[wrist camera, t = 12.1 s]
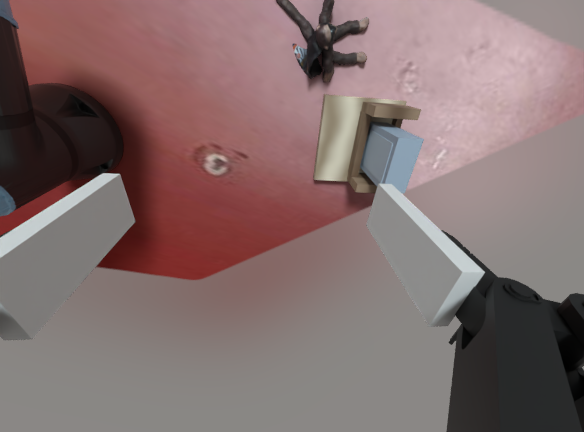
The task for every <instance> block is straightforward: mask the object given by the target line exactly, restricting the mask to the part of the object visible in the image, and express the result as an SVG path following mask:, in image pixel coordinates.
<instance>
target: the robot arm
mask: <svg viewBox="0 0 584 432" xmlns="http://www.w3.org/2000/svg"><path fill="white" fill-rule="evenodd" d="M17 29H19V28H18V23H17V22H16V21H15V20H14V18H13V15H12V11H11V7H10V4H9V0H0V216H4V215H8V214H10V213H11V212H13V211H14V210H16V209H18V208H20V207H21V206H23V205H25V204H27V203H29V202H30V201H32V200H34V199H36V198H38V197H39V196H41V195H43V194H45V193H47V192H48V191H50V190H52V189H54V188H56V187H57V186H59V185H61V184H63V183H65V182H66V181H70V180H79V179H88V178H95V177H96V178H95V179H93V180H91V181H90V182H88V183H87V184H85V185H83V186H82V187H80V188H79V189H77V190H75V191H74V192H72V193H71V194H69V195H67V196H66V197H64V198H63V199H61V200H59V201H58V202H56V203H55V204H53V205H52V206H50V207H48V208H47V209H45V210H44V211H42V212H40V213H39V214H37V215H36V216H34V217H32V218H31V219H29V220H28V221H26V222H24V223H23V224H21V225H20V226H18V227H16V228H15V229H13V230H11V231H9V232H6V233H4V234H3V235H1V236H0V337H1V338H2V339H3V340H25V339H33V338H34V337H35V335H36V334H37V333H38V332H39V331H40V330H41V328H42V327H43V326H44V325H45V324H46V323H47V322H48V320H49V319H50V318H51V317H52V316H53V315H54V314H55V312H56V311H57V310H58V309H59V308H60V307H61V306H62V305H63V303H64V302H65V301H66V300H67V299H68V298H69V297H70V295H71V294H72V293H73V292H74V291H75V290H76V289H77V288H78V286H79V285H80V284H81V283H82V282H83V281H84V279H85V278H86V277H87V276H88V275H89V274H90V273H91V272H92V270H93V269H94V268H95V267H96V266H97V265H98V264H99V262H100V261H101V260H102V259H103V258H104V257H105V256H106V254H107V253H108V252H109V251H110V250H111V249H112V248H113V247H114V245H115V244H116V243H117V242H118V241H119V240H120V239H121V237H122V236H123V235H124V234H125V233H126V232H127V231H128V229H129V228H130V227H131V226H132V225H133V224H134V223H135V218H134V215H133V212H132V209H131V206H130V203H129V200H128V197H127V194H126V191H125V188H124V185H123V182H122V178H121V175H120V174H110V173H107V172H109V171H110V170H112V169H113V168H115V167H116V166H117V165H118V163H119V162H120V160H121V158H122V154H123V140H122V136H121V133H120V130H119V128H118V126H117V124H116V122H115V121H114V119H113V118H112V117H111V115H110V114H109V113H108V112H107V110H106V109H105V108H104V107H103V106H102V105H101V104H100V103H98V102H97V101H96V100H95V99H93V98H92V97H91V96H89V95H88V94H86V93H84V92H82V91H80V90H78V89H76V88H74V87H71V86H68V85H64V84H57V83H46V84H34V85H30V86H28V81H27V76H26V71H25V67H24V62H23V57H22V53H21V48H20V43H19V38H18V34H17ZM366 226H367V228H368V229H369V231H370V232H371V234H372V235H373V237H374V239H375V240H376V242H377V244H378V245H379V247H380V249H381V250H382V252H383V253H384V255H385V257H386V258H387V260H388V262H389V263H390V265H391V266H392V268H393V270H394V271H395V273H396V274H397V276H398V278H399V279H400V281H401V283H402V284H403V286H404V288H405V289H406V291H407V292H408V294H409V296H410V297H411V299H412V300H413V302H414V304H415V305H416V307H417V308H418V310H419V312H420V313H421V315H422V317H423V318H424V320H425V322H426V323H427V325H428V326H429V327H432V326H448V325H449V324H450V322H451V321H452V319H453V318H454V316H455V315H456V317H457V318H458V319H459V321H460V322H461V323H462V324H461V325H460V327H459V328H458V329H457V331H456V332H455V334H454V335H453V336H452V338H451V339H450V341H449V343H450V344H451V345H452V344H453V343H454V341H456V349H455V359H454V368H453V377H452V387H451V396H450V405H449V414H448V424H447V432H584V370H583V369H582V367H583V366H584V295H583V294H577V293H575V294H570V295H569V296H568V297H567V298H566V299H565V300H564V301H563V302H562V303H558V302H553V301H549V300H545V299H543V298H542V297H541V296H540V295H538V294H537V293H536V292H535V291H534V290H532V289H531V288H529V287H528V286H526V285H524V284H522V283H520V282H518V281H515V280H511V279H508V278H498V277H497V276H496V275H495V274H494V273H493V272H492V271H490V270H489V269H488V268H487V267H486V266H485V265H484V264H483V263H482V262H481V261H479V260H478V259H477V258H476V257H475V256H474V255H473V254H470V251H469V250H467V249H466V248H465V247H463V245H462V244H461V243H460V242H459V241H458V240H457V239H455V238H454V237H453V236H451V235H449V234H448V233H446V232H444V231H443V230H440V229H439V228H438V227H437V226H436V225H434V224H433V223H432V222H431V221H430V220H429V219H428V218H427V217H426V216H425V215H424V214H423V213H422V212H421V211H420V210H419V209H417V208H416V207H415V206H414V205H413V204H412V203H411V202H410V201H409V200H408V199H407V198H406V197H405V196H404V195H403V194H402V193H401V192H400V191H398V190H397V189H396V188H395V187H394V186H393V185H392V184H378V186H377V190H376V193H375V197H374V200H373V204H372V207H371V210H370V214H369V217H368V221H367V225H366Z"/></svg>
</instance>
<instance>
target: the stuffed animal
mask: <svg viewBox="0 0 584 432" xmlns="http://www.w3.org/2000/svg"><path fill="white" fill-rule="evenodd" d="M277 2H278V3H279V5H280V6H281V7H283V8H284V10H285V11H286V12H287V13H288V14H289V15H290V16H291V17H292V18H293V19H294V20H295V21H296V22H297V23H298V25H299V27H300V29H301V32H302V34H303V36H304V37H305V38H306V39H307V42H308V47H307V49H303V48H301V47H299V46H298V45H296V44H293V49H294V52H295V55H296V58H297V61H298V63H299V65H300V66H301V68H302V69H303V71H304V72H305V73H306V74H307V75H308V76H309V78H310V79H312V78H313V77H315V76H317V75H320V74H321V72H322V68H321V65H320V64H319V61H318V58H317V57H318V56H319V55H320V54H321V53H322V66H323V69H324V72H323V81H324V82H329V81H330V78H331V76H332V75H333V73H334V67H333V65H334V64H333V63H332V62H334V63H337V64H339V65H341V64H343V65H345V64H356V63H364V62H366V60H367V56H366V55H365V53H364V52H359V53H350V54H342V53H340V52H336V51H334V50H333V42H334V41H336V40H337V39H339V38H340V37H342V36H344V35H346V34H347V33H351V34H356V33H358V32H361V31H363V30H364V29H366V27H367V25H368V24H369V18H367V17H366V18H364V19H362V20H360V21H357V20H355V21H347V22H345V23H344V24H342V25H338V26H335V25H332V24H330V19H329V18H330V15H331V12H332V9H333V5H334V0H324V2H323V8H322V12H321V14H320V16H319V25H318V26H317V28H316V31H314V29H313V28H312V26H311V25H310V23H309V22H308V21H307V20H306V19H305V18H304V16H302V15H301V14H300V13H299V12H298V10H297V9H296V8H295V6H294V5H293V4H292V3H291V2H290V1H289V0H277Z"/></svg>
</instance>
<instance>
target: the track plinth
mask: <svg viewBox="0 0 584 432" xmlns="http://www.w3.org/2000/svg"><path fill="white" fill-rule="evenodd" d="M420 112H421V109H417V108H414V107H410V106H406V101H400V100H388V99H375V98H363V97H350V96H338V95H326V94H324V98H323V106H322V114H321V121H320V129H319V137H318V145H317V152H316V160H315V168H314V175H313V178H314V180H327V181H348V182H349V183H350V185H351V186H352V188H353V189H354V191H355V192H360V193H376V190H377V186H376V185H375V184H374V182H373V181H372V180H371V179H370V178H369V177H368V176H367V174H366V173H365V172H364V171H363V170H362V169H361V168H360V165H361V160H362V156H363V152H364V147H365V143H366V139H367V135H368V130H369V126H370V122H385V123H389V124H391V125H394V126H396V127H398V128H400V127H401V124H402V121H403V119H408V120H418V118H419V115H420Z"/></svg>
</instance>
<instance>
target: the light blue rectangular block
mask: <svg viewBox="0 0 584 432" xmlns="http://www.w3.org/2000/svg"><path fill="white" fill-rule="evenodd" d="M423 140H424V139H422V138H420V137H417V136H415V135H413V134H411V133H409V132H407V131H404V130H402V129H400V128H398V127H396V126H394V125H391V124H389V123H385V122H370V126H369V130H368V135H367V139H366V143H365V147H364V152H363V156H362V160H361V165H360V168H361V169H362V170H363V171H364V172H365V173H366V174H367V176H368V177H369V178H370V179H371V180H372V181H373V182H374V184H375V185H376V186H378V184H392V185H393V186H394V187H395V188H396V189H397V190H398V191H400V192H401V193H405V191H406V188H407V185H408V182H409V179H410V177H411V174H412V171H413V168H414V165H415V163H416V160H417V157H418V154H419V151H420V149H421V146H422V143H423Z"/></svg>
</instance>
